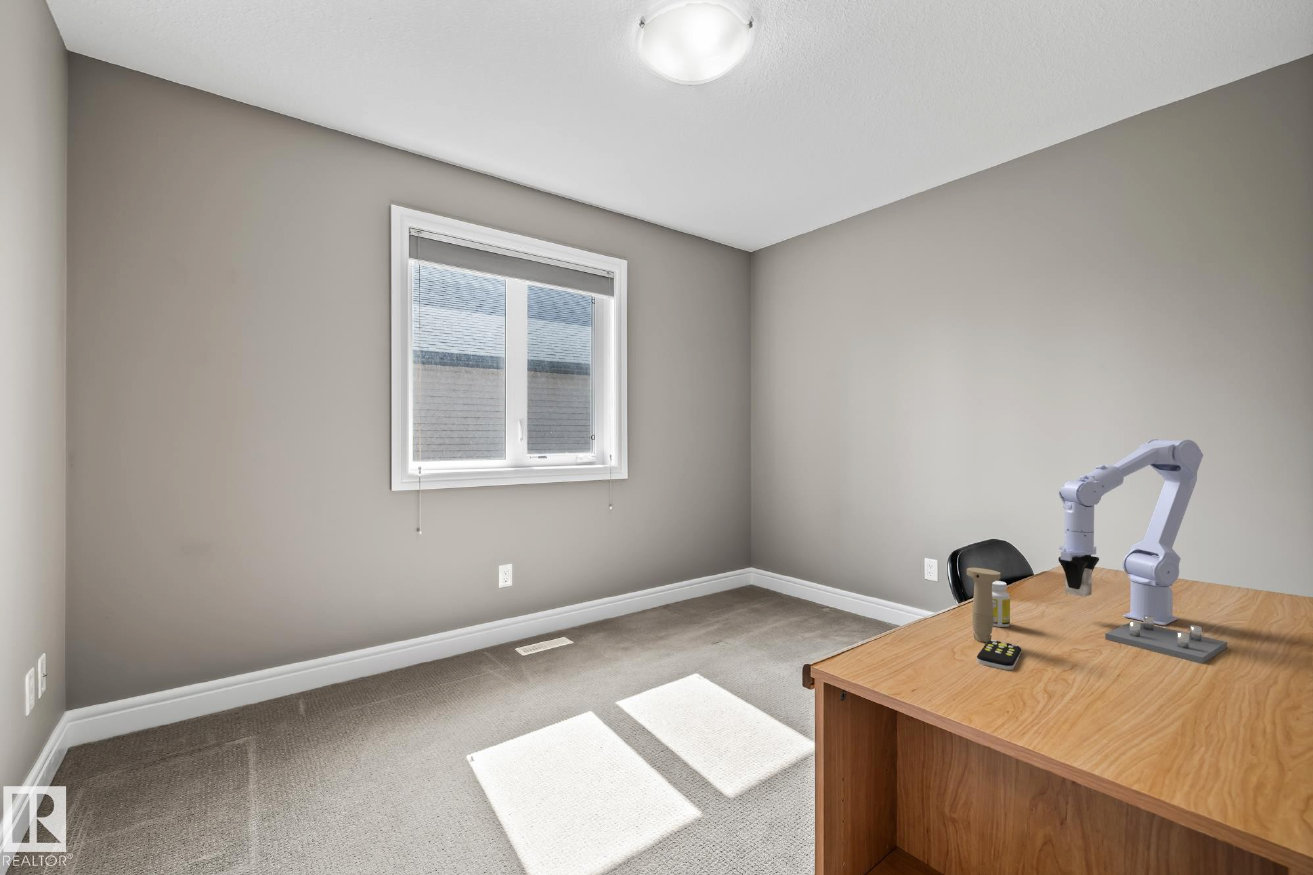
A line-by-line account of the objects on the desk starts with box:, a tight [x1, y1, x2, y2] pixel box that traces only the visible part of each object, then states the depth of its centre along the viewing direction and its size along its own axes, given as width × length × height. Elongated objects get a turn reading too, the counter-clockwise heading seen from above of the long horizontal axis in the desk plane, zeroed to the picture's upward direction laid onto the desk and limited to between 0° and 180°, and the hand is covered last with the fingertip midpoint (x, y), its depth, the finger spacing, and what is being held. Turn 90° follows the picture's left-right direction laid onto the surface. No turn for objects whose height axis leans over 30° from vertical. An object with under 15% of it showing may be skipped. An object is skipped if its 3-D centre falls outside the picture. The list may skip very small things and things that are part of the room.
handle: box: [966, 567, 1001, 643], centre depth 126 cm, size 5×6×15 cm
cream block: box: [1064, 569, 1093, 598], centre depth 141 cm, size 4×4×6 cm
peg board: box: [1104, 615, 1228, 664], centre depth 125 cm, size 16×16×4 cm
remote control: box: [976, 639, 1022, 671], centre depth 116 cm, size 6×13×2 cm, turn 141°
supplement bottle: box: [992, 580, 1011, 628], centre depth 137 cm, size 5×5×10 cm
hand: (1078, 586), depth 141 cm, fingers closed on cream block, 4 cm apart
